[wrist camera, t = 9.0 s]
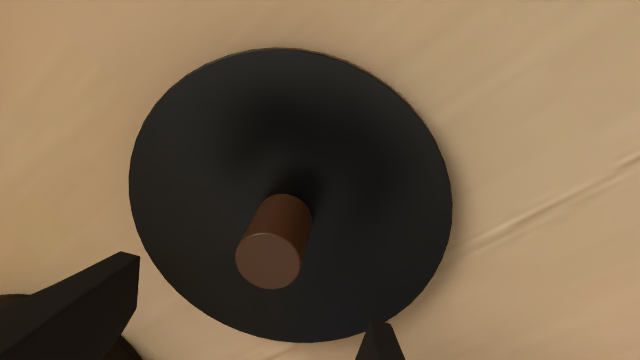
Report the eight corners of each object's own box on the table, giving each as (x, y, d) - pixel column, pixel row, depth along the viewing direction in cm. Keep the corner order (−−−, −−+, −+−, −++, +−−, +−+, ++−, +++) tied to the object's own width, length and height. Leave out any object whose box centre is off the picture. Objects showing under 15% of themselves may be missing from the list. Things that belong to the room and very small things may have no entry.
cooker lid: (391, 356, 22) (396, 437, 17) (133, 287, 22) (79, 351, 18) (501, 97, 16) (546, 129, 12) (151, 5, 16) (77, 5, 12)
